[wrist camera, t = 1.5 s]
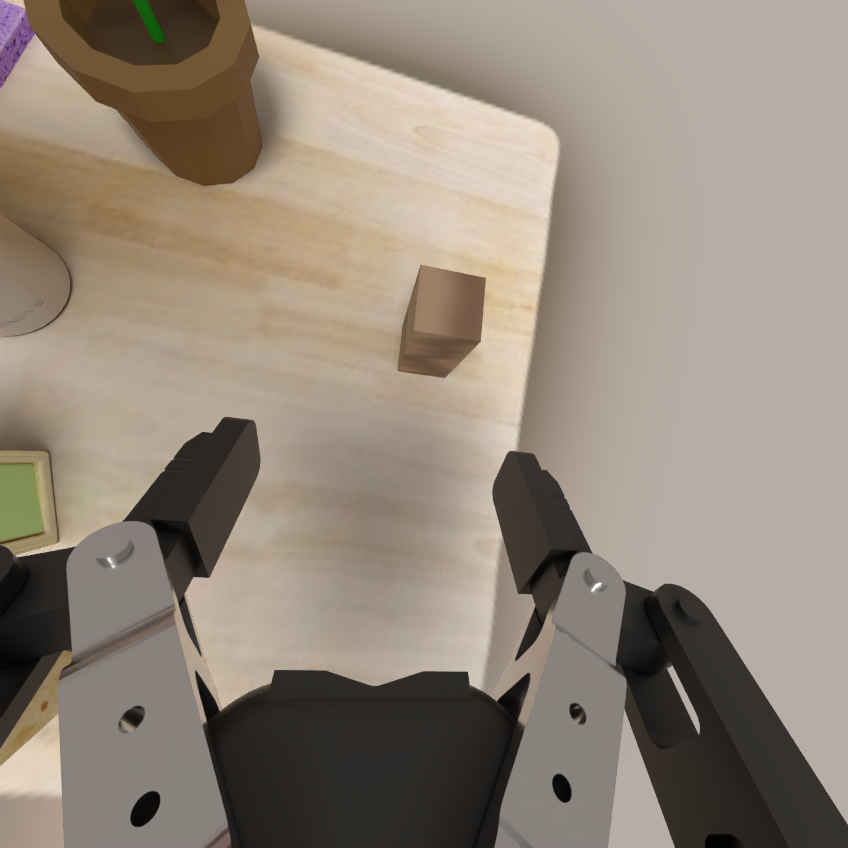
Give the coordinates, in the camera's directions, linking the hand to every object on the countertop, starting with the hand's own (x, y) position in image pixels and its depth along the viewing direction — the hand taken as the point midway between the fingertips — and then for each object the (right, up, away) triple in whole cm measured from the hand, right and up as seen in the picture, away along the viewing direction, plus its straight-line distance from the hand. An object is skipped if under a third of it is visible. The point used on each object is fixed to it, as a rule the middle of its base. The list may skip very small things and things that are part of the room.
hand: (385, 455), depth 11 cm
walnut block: (+1, +9, +24) cm, 26 cm away
